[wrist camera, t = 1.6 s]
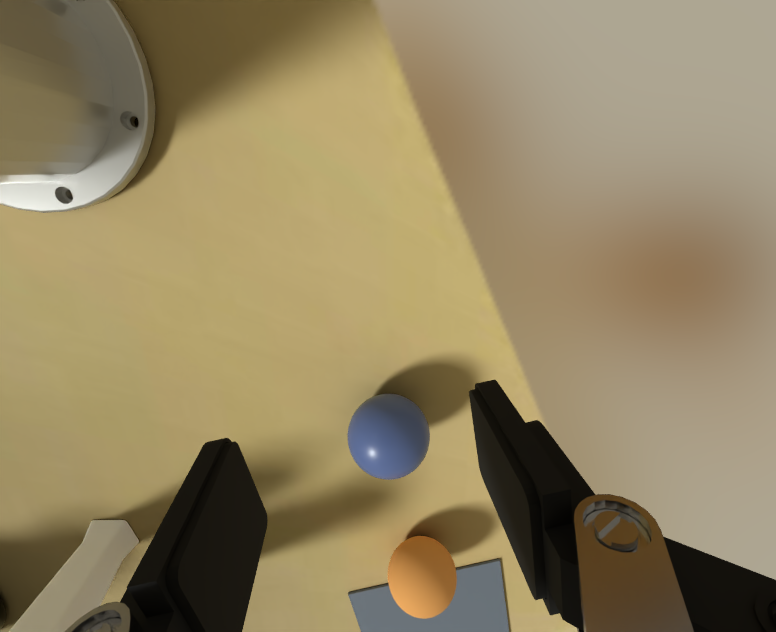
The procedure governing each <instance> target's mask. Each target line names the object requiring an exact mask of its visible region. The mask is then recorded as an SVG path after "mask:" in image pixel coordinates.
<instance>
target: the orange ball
mask: <svg viewBox="0 0 776 632" xmlns="http://www.w3.org/2000/svg"><path fill="white" fill-rule="evenodd" d="M388 583H389V588H390V591H391V594H392V596H393V598H394V600H395V602H396V603H397V605H398V606H399V607H400V608H401V609H402V610H403V611H405V612H406V613H407V614H409V615H411V616H413V617H416V618H422V619H427V618H432V617H435V616H437V615H439V614H440V613H442V612H443V611H444V610H445V609H446V608H447V607H448V606H449V604H450V603H451V601H452V599H453V597H454V594H455V590H456V584H457V575H456V568H455V565H454V562H453V559H452V557H451V555H450V553H449V552H448V551H447V549H446V548H445V547H444V546H443V545H442V544H441V543H439V542H438V541H437V540H435V539H433V538H430V537H426V536H415V537H411V538H409V539H407V540H405V541H404V542H402V543H401V544H400V545H399V546H398V547H397V548H396V550H395V551H394V553H393V555H392V557H391V560H390V563H389V567H388Z"/></svg>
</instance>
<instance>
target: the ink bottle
mask: <svg viewBox="0 0 776 632" xmlns="http://www.w3.org/2000/svg"><path fill="white" fill-rule="evenodd" d="M5 619H6V610H5V606H4V604H3V602H2V600H1V598H0V630H1V628H2V627H3V625H4V623H5Z"/></svg>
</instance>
